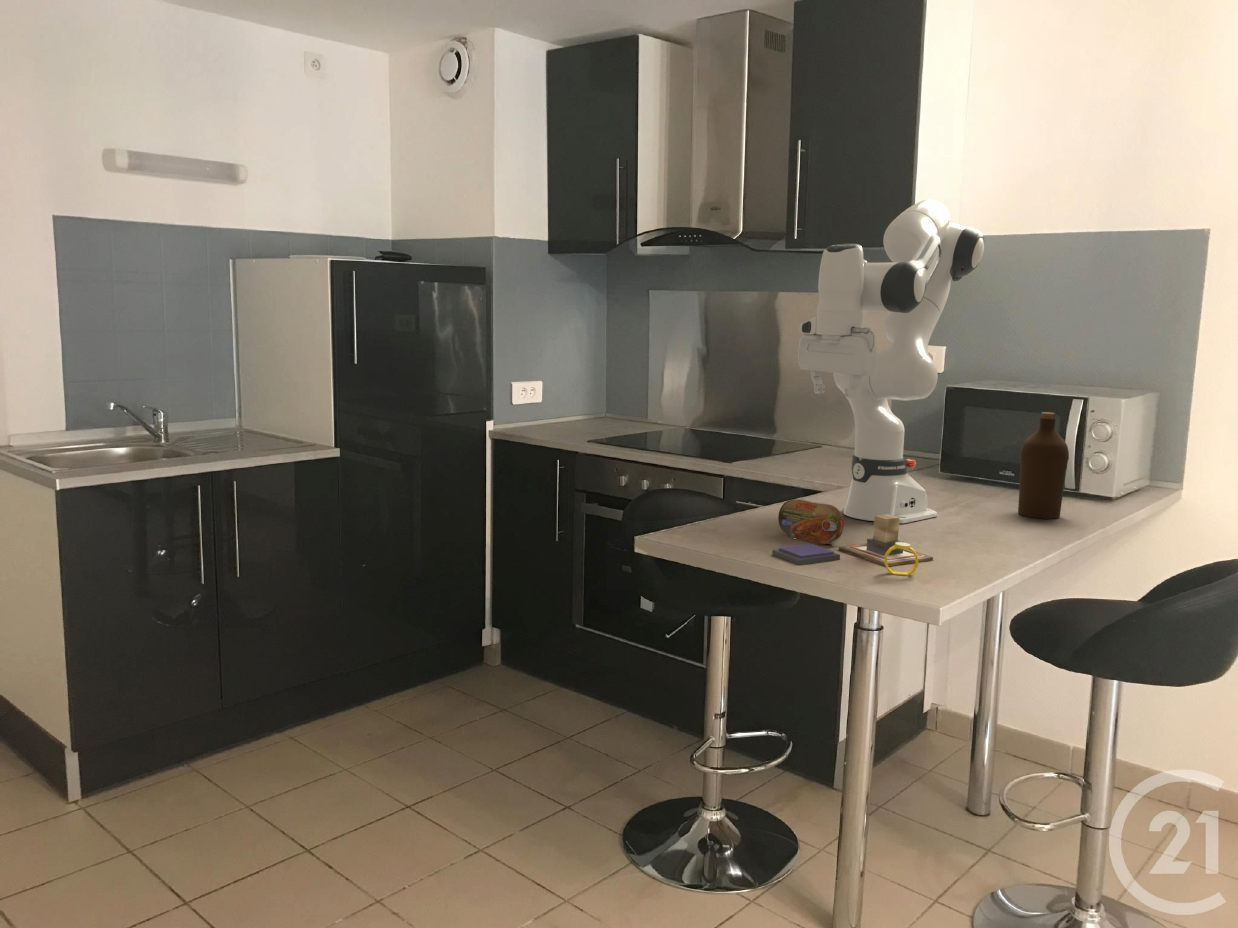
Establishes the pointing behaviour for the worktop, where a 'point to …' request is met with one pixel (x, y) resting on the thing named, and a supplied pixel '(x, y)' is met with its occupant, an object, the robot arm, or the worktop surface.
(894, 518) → the stamp
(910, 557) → the board
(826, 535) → the tin
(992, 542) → the worktop surface
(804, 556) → the ink pad
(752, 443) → the worktop surface
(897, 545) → the watch
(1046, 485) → the olive oil
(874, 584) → the worktop surface
